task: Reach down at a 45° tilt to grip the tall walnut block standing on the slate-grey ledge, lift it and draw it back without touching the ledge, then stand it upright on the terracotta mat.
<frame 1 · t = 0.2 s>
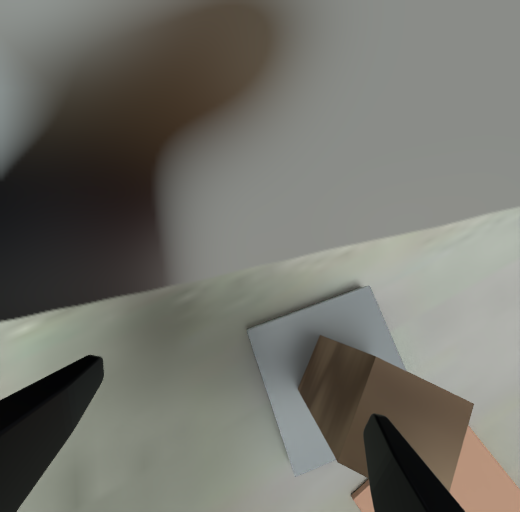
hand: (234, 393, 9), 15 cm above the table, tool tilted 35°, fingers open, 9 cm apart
grey ledge: (327, 368, 23), on the table
terracotta mat: (448, 510, 21), on the table
walnut block: (335, 374, 21), point 2 cm above the table, touching grey ledge
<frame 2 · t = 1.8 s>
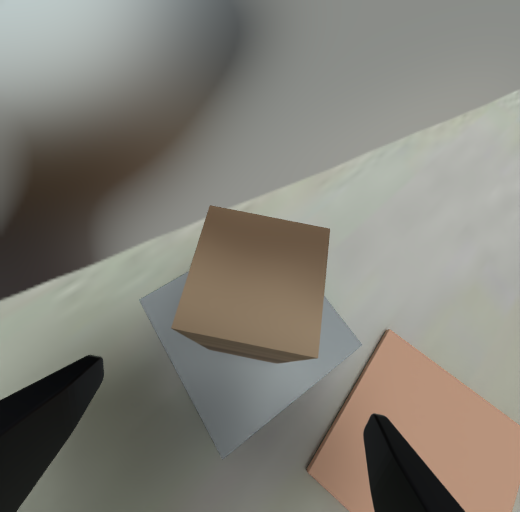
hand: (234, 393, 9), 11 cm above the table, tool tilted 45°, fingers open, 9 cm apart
grey ledge: (249, 326, 20), on the table
terracotta mat: (421, 451, 17), on the table
walnut block: (249, 322, 18), point 2 cm above the table, touching grey ledge
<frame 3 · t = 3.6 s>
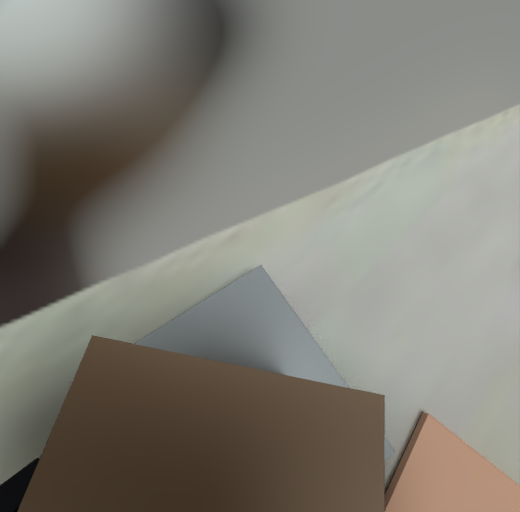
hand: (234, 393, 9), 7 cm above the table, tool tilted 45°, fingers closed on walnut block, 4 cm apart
grey ledge: (232, 410, 14), on the table
walnut block: (230, 417, 12), point 2 cm above the table, touching grey ledge, gripper
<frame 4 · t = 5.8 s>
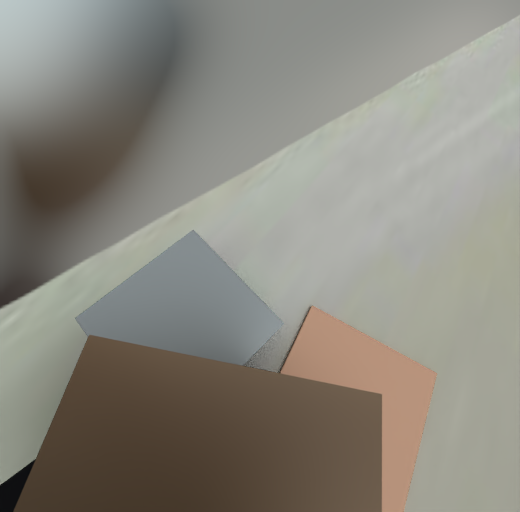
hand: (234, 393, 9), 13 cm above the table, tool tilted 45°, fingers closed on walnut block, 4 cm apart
grey ledge: (186, 324, 22), on the table
terracotta mat: (346, 404, 20), on the table
walnut block: (229, 416, 12), point 8 cm above the table, touching gripper
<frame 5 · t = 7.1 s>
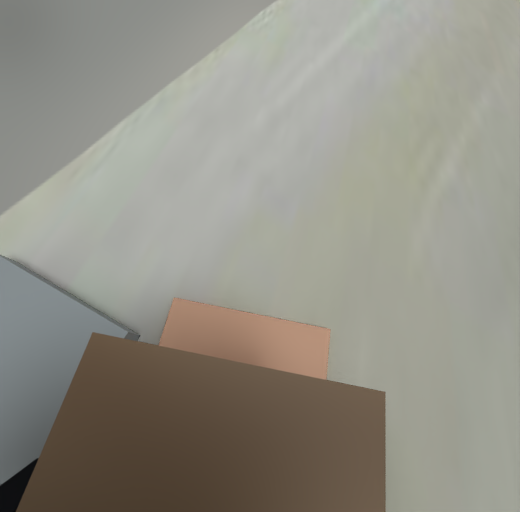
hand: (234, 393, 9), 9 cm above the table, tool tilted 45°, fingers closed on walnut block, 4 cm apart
grey ledge: (11, 373, 16), on the table
terracotta mat: (234, 401, 16), on the table
walnut block: (230, 415, 12), point 4 cm above the table, touching gripper
when the fingers open (6 cm above the table, at t = 8.0 s): walnut block drops 1 cm, resting on terracotta mat.
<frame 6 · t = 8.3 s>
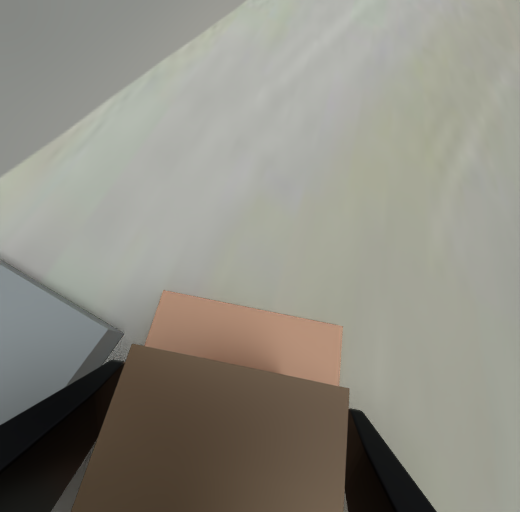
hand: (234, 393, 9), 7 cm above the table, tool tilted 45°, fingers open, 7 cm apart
terracotta mat: (232, 410, 14), on the table
walnut block: (232, 411, 14), resting on terracotta mat
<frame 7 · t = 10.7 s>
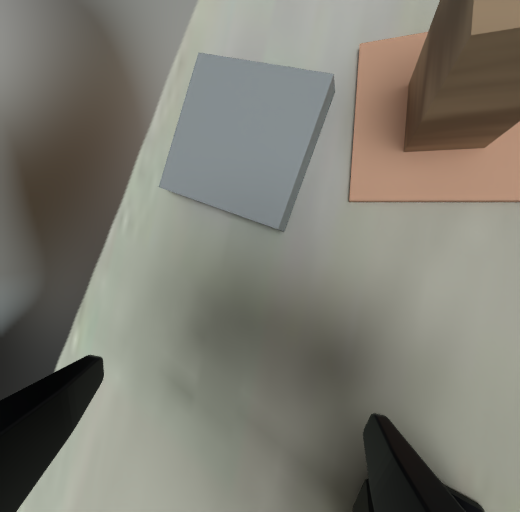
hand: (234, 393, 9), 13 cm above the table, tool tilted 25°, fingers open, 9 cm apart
grey ledge: (246, 147, 22), on the table
terracotta mat: (442, 118, 17), on the table
walnut block: (445, 114, 17), resting on terracotta mat
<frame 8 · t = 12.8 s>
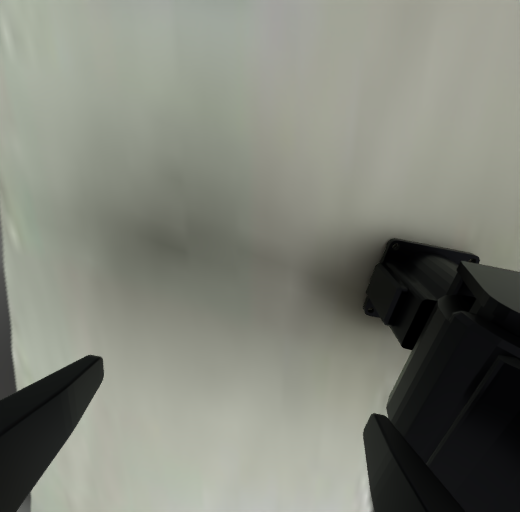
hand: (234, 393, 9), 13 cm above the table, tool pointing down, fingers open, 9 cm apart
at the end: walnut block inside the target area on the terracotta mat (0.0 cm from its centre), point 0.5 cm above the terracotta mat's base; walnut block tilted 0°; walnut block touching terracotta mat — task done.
